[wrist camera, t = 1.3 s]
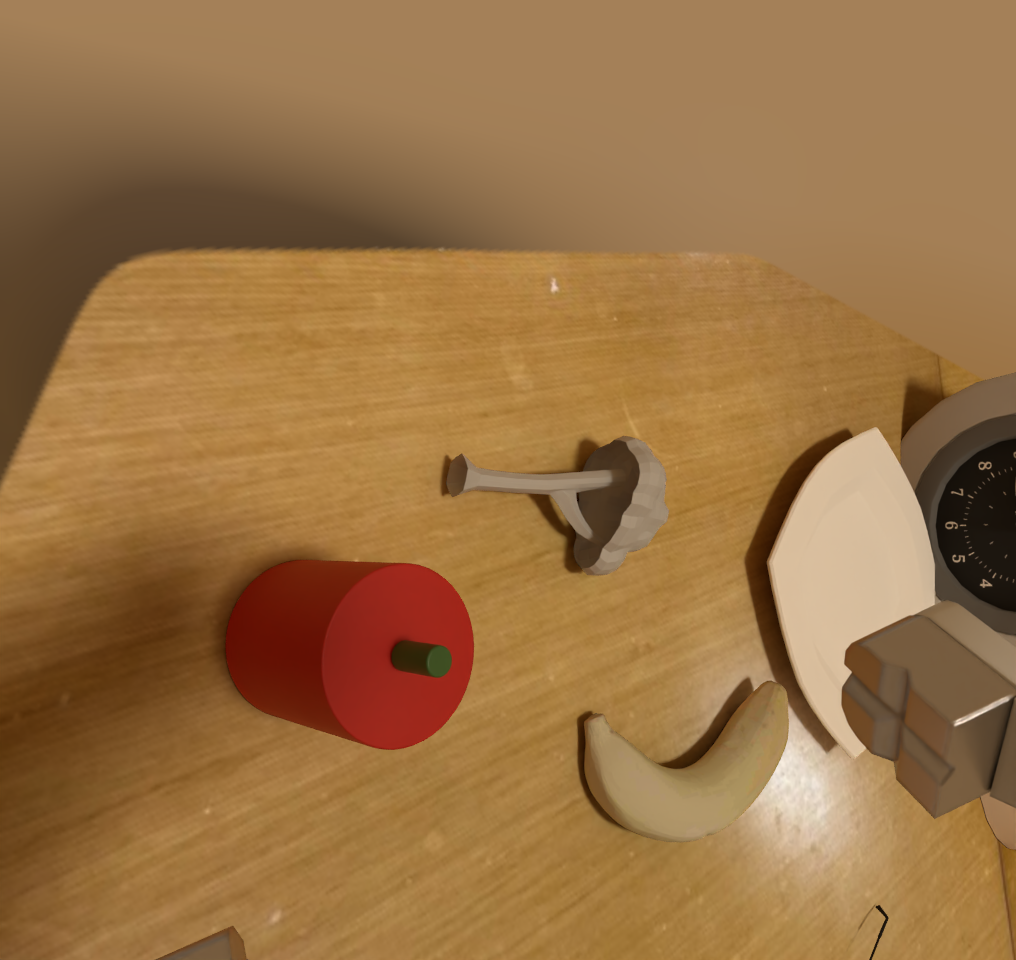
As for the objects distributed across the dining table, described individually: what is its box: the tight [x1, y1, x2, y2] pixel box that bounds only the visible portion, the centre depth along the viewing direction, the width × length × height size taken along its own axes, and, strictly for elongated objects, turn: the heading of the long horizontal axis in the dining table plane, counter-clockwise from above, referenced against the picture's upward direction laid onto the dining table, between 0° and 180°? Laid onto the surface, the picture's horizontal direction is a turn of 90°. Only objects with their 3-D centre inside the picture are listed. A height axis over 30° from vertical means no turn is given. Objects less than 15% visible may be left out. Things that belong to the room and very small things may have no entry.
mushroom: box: [446, 436, 669, 575], centre depth 42 cm, size 7×5×12 cm
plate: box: [767, 427, 936, 759], centre depth 60 cm, size 19×19×2 cm
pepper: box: [226, 560, 474, 750], centre depth 31 cm, size 6×6×9 cm
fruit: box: [584, 681, 789, 842], centre depth 48 cm, size 7×15×3 cm, turn 91°
